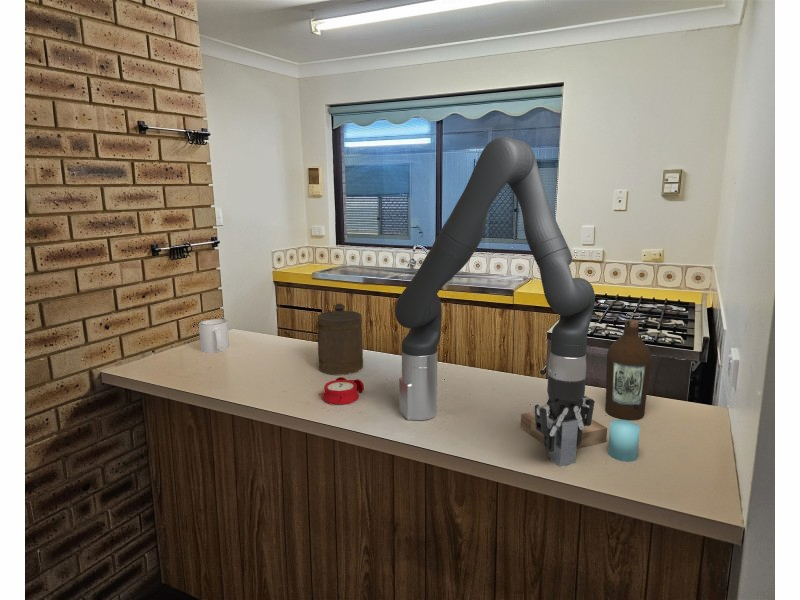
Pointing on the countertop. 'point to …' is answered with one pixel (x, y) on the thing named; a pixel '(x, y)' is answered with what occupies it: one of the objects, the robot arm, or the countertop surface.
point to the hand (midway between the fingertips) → (562, 446)
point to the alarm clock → (342, 391)
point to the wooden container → (340, 341)
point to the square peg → (565, 442)
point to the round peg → (623, 440)
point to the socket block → (589, 433)
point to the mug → (213, 335)
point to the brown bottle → (627, 374)
